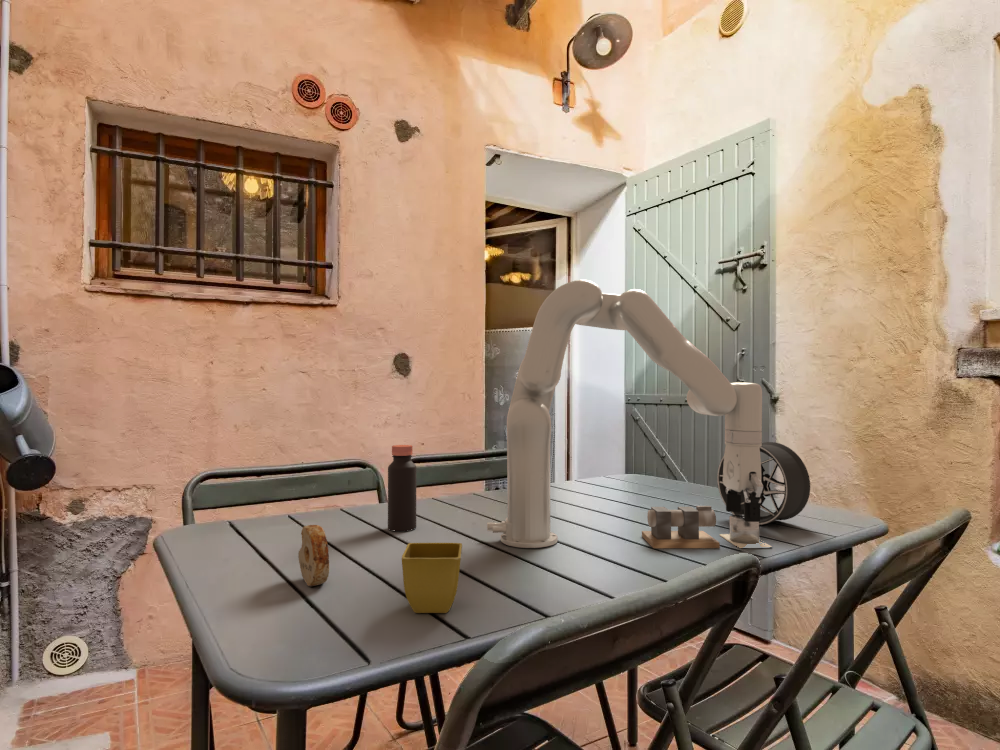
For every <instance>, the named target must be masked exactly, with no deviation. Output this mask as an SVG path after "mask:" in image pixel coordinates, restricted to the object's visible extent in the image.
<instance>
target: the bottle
mask: <svg viewBox="0 0 1000 750" xmlns="http://www.w3.org/2000/svg"><path fill="white" fill-rule="evenodd" d="M391 455H392V456H391V457H392V458H393V459H392V462H391V463H390V464H389V465H388V467H387V529H388V530H389V529H390V530H389V531H391V530H395V531H394V532H396V531H405V532H408V531H407V530H411V529H414V528H415V529H417V466H416V464H415V463H414V462H413V461H412V457H413V445H412V444H395V445H392V446H391ZM415 529H414V530H415ZM411 531H412V530H411Z"/></svg>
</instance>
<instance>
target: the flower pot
mask: <svg viewBox="0 0 1000 750" xmlns="http://www.w3.org/2000/svg"><path fill="white" fill-rule="evenodd" d="M462 551H463V543H461V542H409V543H407V545H406V547H405V550H404V551H403V553H402V555H401V567H402V580H403V589H404V592H405V593H404V594H405V597H406V599H407V603H408V604H409V606H410V608H411V609H412V611H413V612H414V613H416V614H447V613H448V612H450V610H451V607H452V606H453V603H454V601H455V598H456V595H457V591H458V587H459V586H458V585H459V579H460V577H459V576H460V568H461V561H462Z"/></svg>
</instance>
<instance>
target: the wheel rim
mask: <svg viewBox="0 0 1000 750" xmlns="http://www.w3.org/2000/svg"><path fill="white" fill-rule="evenodd" d="M759 448H760V453H763V454H765V455H766V456H767V457H769V458H768V459H766V460H763V461H761V482H762V484H763V490H762V497H761V503H760V521H759V526H760V525H761V526H762V525H767V524H770V523H774V522H775V521H785V520H790V519H792V518H795V517H796V516H798V515H799V514H800V513H801V512H802V511H803V510H804V509H805V507H806V506H807V504H808V501H809V499H810V494H811V479H810V475H809V472H808V471H809V470H808V469H807V467H806V465H805V463H804V461H803V459H802V458H801V457H800V456H799V455H798V454H797V453H796V452H795V451H794V450H793V449H791V448H790V447H789V446H787V445H785V444H782V443H779V442H776V441H774V442H773V441H766V442H765V441H764V442H762V446H759ZM771 461H774V462H775V464H774V467H773V469H772V470H771V474H769V473H765V472H766V469H765V467H764V466H763V464H765V463H770V462H771ZM723 464H724V455H723V456H722V458H721V460H720V462H719V465H718V468H717V474H716V475H717V476H716V477H717V478H716V480H717V488H718V492H719V496H720V497H721V500H722V502H723V503H724V505H725V506H726V494H727V493H726V486H725V485H724V484H723ZM777 469H780V472H781V474H782V477H783V482H782V481H779V480H777V479H775V478H774V476H775V473H776V471H777ZM764 473H765V474H764ZM771 483H772V484H774V485H777V486H781V487H784V490H776V489H775V490H771V486H770V485H771ZM739 494H741V511H740V512H730V513H731V515H744V502H746V499H745V496H744V492H743V490H742V491H741V492H739ZM749 495H751V493H749ZM774 495H783V499H782V502H781V504H780V506H778V504H777V501H776V500H775V497H774ZM766 497H770V499H771V501H772V504H773V506H774V508H775V511H774V512H773V511H772V510H770V509H769V508H767V506H764V505H763V504H764V502H765V501H766ZM762 509H763V510H762Z"/></svg>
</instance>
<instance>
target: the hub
mask: <svg viewBox="0 0 1000 750" xmlns="http://www.w3.org/2000/svg"><path fill="white" fill-rule="evenodd" d="M729 534H730V540H731V541H733V542H737V543H743V544H756V543H759V540H760V525H759V522H746V521H745V520H744V515H733V514H731V515H730V516H729Z"/></svg>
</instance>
